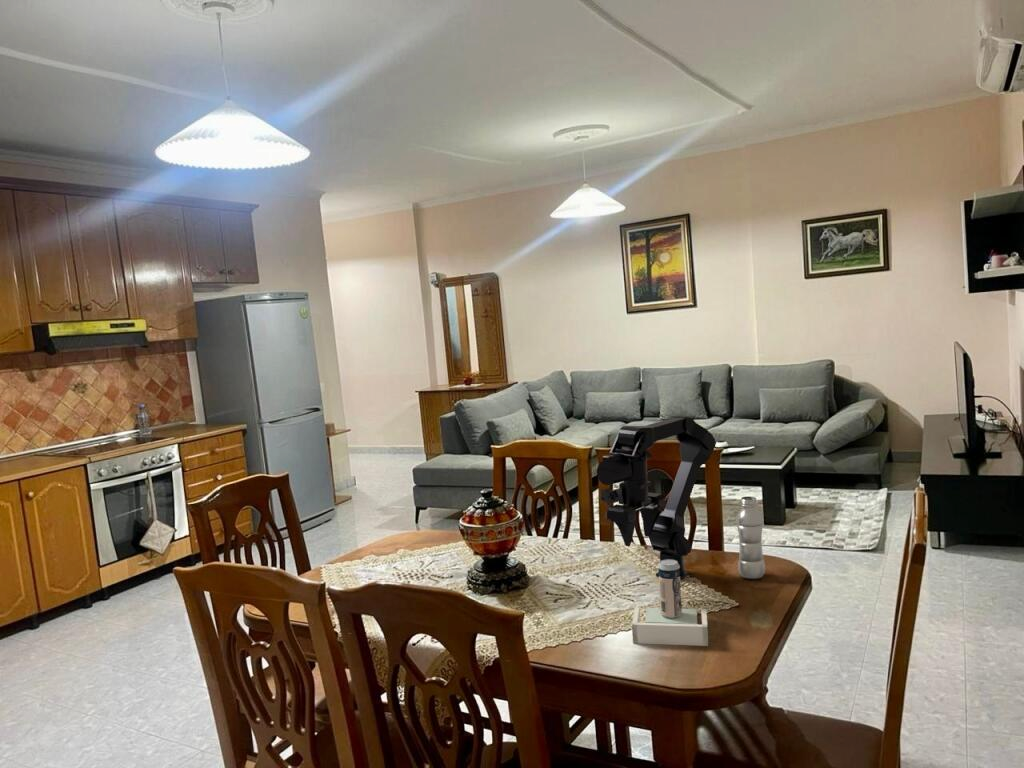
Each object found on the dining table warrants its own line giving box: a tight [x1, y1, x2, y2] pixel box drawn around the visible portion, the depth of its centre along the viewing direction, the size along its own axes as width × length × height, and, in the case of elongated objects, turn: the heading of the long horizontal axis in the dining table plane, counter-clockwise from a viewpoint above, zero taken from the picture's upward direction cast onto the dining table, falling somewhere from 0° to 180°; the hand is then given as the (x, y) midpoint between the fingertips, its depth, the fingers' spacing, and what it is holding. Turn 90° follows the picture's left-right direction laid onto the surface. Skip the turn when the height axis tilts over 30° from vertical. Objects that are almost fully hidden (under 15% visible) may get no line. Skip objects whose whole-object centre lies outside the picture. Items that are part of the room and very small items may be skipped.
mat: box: [644, 607, 698, 624], centre depth 162 cm, size 8×11×1 cm
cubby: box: [631, 606, 709, 647], centre depth 153 cm, size 9×15×4 cm, turn 77°
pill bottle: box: [657, 559, 683, 618], centre depth 161 cm, size 5×5×12 cm
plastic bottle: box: [735, 495, 766, 580], centre depth 181 cm, size 6×7×20 cm
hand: (637, 541), depth 179 cm, fingers open, 9 cm apart
